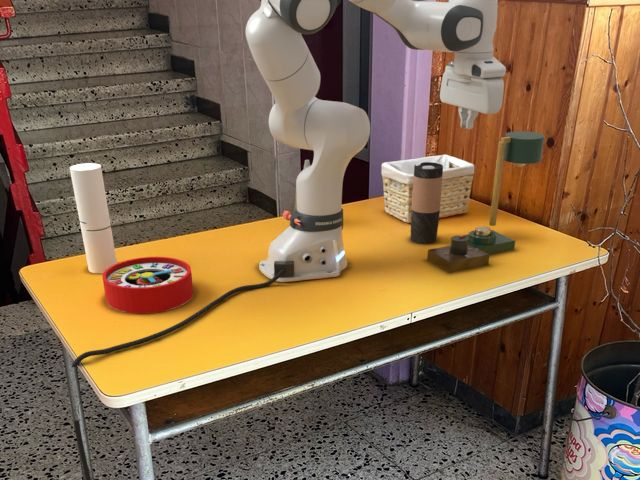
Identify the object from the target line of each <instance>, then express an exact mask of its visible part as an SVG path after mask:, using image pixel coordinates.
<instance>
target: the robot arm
mask: <svg viewBox="0 0 640 480" xmlns="http://www.w3.org/2000/svg"><path fill="white" fill-rule="evenodd" d="M259 1H260V6H259V8H258V9H257V10H255V12H253V13H252V14H251V16H249V19H247V23H246V25H245V39H246V42H247V45H248V48H249V51H250V54H251V57H252V58H253V61H254V64H255V65H256V67H257V70H258V71H259V73H260V75H261V76H262V78H263V80H264V82H265V84H266V86H267V88H268V89H269V91H270V93H271V95H272V97H273V99H274V104H273V106H272V107H271V109H270V111H269V115H268V129H269V131H270V134H271V136H272V137H273V139H274V140H275V141H277V142H279V143H281V144H283V145H285V146H287V147H290V148H295V149H301V150H308V151H313V158H312V159H313V160H312V163H311V164H310V166H309V167H307V168H305V169H304V168H303V169H304V170H303V169H302V170H301V171H300V172H299V173H298V175H297V177H296V180H295V194H296V201H297V208H296V209H295V211H294V210H293V213H292V212H290V211H289V210H284V211H283V213H282V218H283V219H285V220H286V221H289V224H290V225H289V226H287V228H286V229H284V230H283V231H282V232H281V233H280V234H279V235H278V236H277V237H276V238H275V239H273V240H272V241H271V242H270V243H269V246H268V251H267V258H266V259H264V260H261V261H260V262H259V264H258V265H259V266H258V268H259V271H260V272H261V274H263V275H264V276H265V277H266V278H268V279H270V280H268V281H265V282H262V283H258V284H249V285H248V284H247V285H241V286H238V287H235V288H233V289H230V290H228V291H227V292H226V293H224V294H222V295H221V296H219V297H218V298H215V299H214V300H213V301H211V302H210V303H209V304H207V305H205V306H204V307H203V308H201V309H200V310H198V311H197V312H195V313H193V314H192V315H190V316H189V317H187V318H186V319H184V320H181V321H180V322H178V323H176V324H174V325H172V326H170V327H168V328H166V329H163V330H161V331H159V332H155V333H154V334H151V335H148V336H144V337H141V338H139V339H135V340H132V341H129V342H123V343H121V344H117V345H114V346H110V347H106V348H103V349H95V350H89V351H85V352H83V353H81V354H79V355H78V356H76V358H75V359H74V360H73V362H72V364H71V368H76V367H78V366H79V365H80V363H81V362H82V361H83V360H84V359H86V358H89V357H93V356H94V357H95V356H101V355H107V354H111V353H113V352H117V351H121V350H124V349H127V348H131V347H135V346H139V345H142V344H145V343H148V342H151V341H154V340H156V339H159V338H161V337H165V336H166V335H168V334H171V333H173V332H175V331H177V330H179V329H181V328H182V327H185V326H186V325H189V324H190V323H191V322H192V321H194V320H196V319H197V318H199V317H200V316H202V315H203V314H205V313H207V312H208V311H209V310H211V309H212V308H213V307H215V306H217V305H218V304H219V303H221V302H223V301H225V300H226V299H227V298H229V297H230V296H233V295H234V294H236V293H239V292H242V291H247V290H248V291H249V290H254V289H262V288H266V287H268V286H270V285H273V284H274V283H275V282H279V283H288V282H290V283H291V282H297V281H298V282H299V281H308V280H318V279H326V278H327V279H328V278H337V277H339V276H340V275H341V272H342V271H343V270H345V269H346V268H347V267H348V261H347V257H346V252H345V247H344V246H345V245H344V239H343V238H344V237H343V230H344V209H343V207H342V204H343V201H342V200H343V182H344V176H345V173H346V170H347V167H348V165H349V163H350V162H351V160H352V158H354V157H355V156H356V155H357V154H358V153H360V152H361V151H362V150H363V149H364V148H365V146H366V145H367V144H368V141H369V139H370V135H371V122H370V119H369V116H368V114H367V112H366V110H364V109H363V108H361V107H358V106H356V105H354V104H350V103H347V102H342V101H333V100H323V99H320V98H317V97H316V96H317V94H318V92H319V90H320V86H321V72H320V69H319V68H318V66H317V63H316V62H315V59H314V57H313V55H312V53H311V51H310V49H309V47H308V45H307V43H306V41H305V38H304V37H303V35H307V36H308V35H314V34H316V33H317V32H319V31H321V30H322V29H324V28H325V26H326V25H327V24H328V23H329V22H330V21H331V19H332V17H333V15H334V14H335V12H336V9H337V7H338V6H339V5H340V4H341V2H342V0H259ZM348 1H349V2H350V3H352V4H353V5H355V6H357V7H360V8H361V9H364V10H366V11H367V12H371V13H372V14H374V15H375V16H376V17H378V18H379V19H381V20H382V21H384V22H385V23H386V24H388V25H389V26H391V28H393V30H395V32H396V33H397V35H398V36H399V38H400V40H401V41H402V42H403V44H404V45H405V46H406V47H407V48H408V49H410V50H414V51H417V50H418V51H419V50H420V51H421V50H422V51H425V50H427V51H434V52H442V53H454V54H453V60H451V61H449V62H448V63H447V65H445V69H444V70H445V71H444V72H443V74H442V78H441V83H440V84H441V85H440V91H439V99H440V102H441V103H444V104H447V105H451V106H453V107H454V106H455V107H458V115H459V119H460V123H459V125H460V128H462V129H466V130H473V129H474V126H475V125H474V124H475V120H476V118H477V117H478V116H479V113H481V114H485V115H495V114H499V112H500V111H501V109H502V107H503V101H504V91H505V82H504V79H503V77H506V73H507V67H506V66H505V65H504V64H503V63H502V62H500V61H499V60H498V59H497V58H496V56H494V51H495V50H494V37H495V34H496V30H497V24H498V8H499V7H498V5H499V4H498V2H499V1H498V0H447V1H433V0H432V1H431V0H348ZM73 424H74V430H75V436H76V442H77V446H78V451H79V455H80V461H81V465H82V468H83V472H84V478H85V480H92V478H91V477H92V476H91V474H90V469H89V465H88V462H87V455H86V452H85V447H84V441H83V436H82V431H81V425H80V419H77V420H74V421H73Z"/></svg>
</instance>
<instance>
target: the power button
mask: <svg viewBox="0 0 640 480" xmlns="http://www.w3.org/2000/svg"><path fill="white" fill-rule="evenodd" d="M491 230H492V229H491V228H490V227H488V226H476V227H475V229H474V231H475V235H476V236H479V237H489V236H490V233H491Z"/></svg>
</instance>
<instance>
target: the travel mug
mask: <svg viewBox="0 0 640 480" xmlns="http://www.w3.org/2000/svg"><path fill="white" fill-rule="evenodd" d="M442 174H443V165H441V164H438V163H432V162H424V163H421V164H420V165H418V166H416V165H415V166H414V179H413V193H412V208H411V223H410V241H411V243H415V244H418V245H432V244H434V243H436V242H437V240H438V230H439V221H440V218H439V213H440V202H441V188H442Z"/></svg>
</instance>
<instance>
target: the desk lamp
mask: <svg viewBox="0 0 640 480" xmlns="http://www.w3.org/2000/svg"><path fill="white" fill-rule="evenodd" d="M545 138H546V136H545V135H544V134H543V133H539V132H536V131H525V130H521V131H520V130H519V131H518V130H517V131H509V132H507V133H505V134H504V136H503V137H501V138H500V141H498V147H497V156H496V163H495V172H494V181H493V188H492V196H491V205H490V214H489V223H488V225H489V226H491V227H495V226H497V220H498V219H497V218H498V210H499V204H500V203H499V202H500V196H501V195H500V194H501V186H502V179H503V178H502V177H503V172H504V171H503V170H504V164H505V163H504V162H508V163H512V164H515V165H516V167H518V168H524V167H525V166H526V165H529V164H530V165H533V164H537V163H540V162H541V161H542V157H543V152H544V145H545V144H544V143H545Z"/></svg>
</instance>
